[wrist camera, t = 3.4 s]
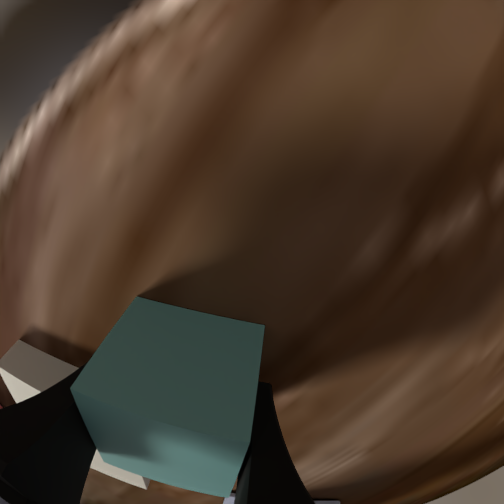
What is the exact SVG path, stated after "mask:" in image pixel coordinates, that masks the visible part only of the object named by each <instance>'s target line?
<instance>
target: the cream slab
mask: <svg viewBox="0 0 504 504" xmlns="http://www.w3.org/2000/svg"><path fill="white" fill-rule="evenodd" d="M77 369H79V368H78V367H75V366H73V365H71V364H69V363H66V362H64V361H62V360H60V359H57V358H55V357H53V356H51V355H49V354H47V353H45V352H43V351H40V350H38V349H36V348H34V347H32V346H30V345H29V344H27V343H25V342H23V341H21V340H18V341H17V342H16V343H15V344H14V345H13V346H12V347H11V348H10V350H9V351H8V352H7V353H6V354H5V355H4V356H3V357H2V358H1V359H0V374H1V376H2V378H3V380H4V382H5V384H6V386H7V388H8V389H9V391H10V393H11V395H12V397H13V398H14V400H15V402H16V403H19V402H21V401H24V400H26V399H28V398H31V397H33V396H35V395H37V394H39V393H41V392H43V391H44V390H46V389H48V388H50V387H51V386H53V385H55V384H56V383H58V382H59V381H61V380H63V379H64V378H66V377H67V376H69V375H70V374H72V373H73V372H74V371H76V370H77ZM90 467H91V468H93V469H95V470H97V471H100V472H102V473H104V474H107V475H109V476H111V477H114V478H116V479H119V480H122V481H124V482H127V483H130V484H132V485H135V486H138V487H141V488H144V489H147V487H148V484H149V481H150V479H149V478H146V477H143V476H140V475H137V474H134V473H131V472H128V471H126V470H123V469H120V468H118V467H115V466H113V465H110V464H108V463H105V462H104V461H103V459H102V457H101V456H100V454H99V452H98V450H96V452H95V455H94V457H93V460H92V463H91V466H90Z"/></svg>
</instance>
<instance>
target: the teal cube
mask: <svg viewBox="0 0 504 504" xmlns="http://www.w3.org/2000/svg"><path fill="white" fill-rule="evenodd" d="M264 329H265V325H261V324H256V323H250V322H245V321H240V320H235V319H231V318H226V317H221V316H216V315H212V314H207V313H203V312H198V311H194V310H190V309H185V308H181V307H177V306H173V305H169V304H164V303H160V302H156V301H152V300H149V299H145V298H141V297H136V298H135V299H134V300H133V302H132V303H131V304H130V306H129V307H128V308H127V310H126V311H125V312H124V314H123V315H122V316H121V318H120V319H119V320H118V322H117V323H116V324H115V326H114V327H113V328H112V330H111V331H110V332H109V334H108V335H107V336H106V338H105V339H104V341H103V342H102V343H101V345H100V346H99V347H98V349H97V350H96V352H95V353H94V354H93V356H92V357H91V359H90V360H89V362H88V363H87V364H86V366H85V367H84V369H83V370H82V372H81V373H80V374H79V376H78V377H77V379H76V380H75V382H74V383H73V385H72V386H71V388H70V389H71V392H72V395H73V397H74V400H75V402H76V404H77V407H78V409H79V412H80V414H81V416H82V418H83V421H84V423H85V425H86V427H87V429H88V432H89V434H90V436H91V438H92V440H93V442H94V444H95V446H96V448H97V450H98V452H99V454H100V456H101V457H102V459H103V461H104V462H105V463H108V464H110V465H113V466H115V467H118V468H120V469H123V470H126V471H128V472H131V473H134V474H137V475H140V476H143V477H146V478H149V479H152V480H155V481H159V482H162V483H165V484H169V485H172V486H176V487H180V488H184V489H188V490H192V491H196V492H201V493H205V494H210V495H215V496H220V497H226V498H229V496H230V493H231V491H232V488H233V486H234V483H235V481H236V478H237V475H238V473H239V470H240V468H241V465H242V462H243V460H244V457H245V454H246V452H247V449H248V446H249V444H250V439H251V431H252V424H253V417H254V409H255V401H256V394H257V386H258V378H259V370H260V362H261V354H262V345H263V337H264Z"/></svg>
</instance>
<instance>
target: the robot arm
mask: <svg viewBox="0 0 504 504" xmlns="http://www.w3.org/2000/svg"><path fill="white" fill-rule="evenodd" d="M88 362H89V361H88ZM88 362H87V363H88ZM87 363H86V364H87ZM86 364H84V365H83V366H81V367H80V368H79V369H77V370H76V371H74V372H73V373H72V374H70V375H69V376H67V377H66V378H64V379H63V380H61V381H59V382H58V383H56V384H55V385H53V386H51V387H50V388H48V389H46V390H44V391H43V392H41V393H39V394H37V395H35V396H33V397H31V398H28V399H26V400H24V401H21V402H19V403H16V404H14V405H11V406H8V407H5V408H2V409H0V504H80V499H81V495H82V492H83V488H84V484H85V481H86V478H87V475H88V472H89V469H90V466H91V463H92V460H93V457H94V455H95V452H96V450H97V448H96V446H95V444H94V442H93V440H92V438H91V436H90V434H89V432H88V429H87V427H86V425H85V423H84V421H83V418H82V416H81V414H80V412H79V409H78V407H77V404H76V402H75V400H74V397H73V395H72V392H71V389H70V388H71V386H72V385H73V383H74V382H75V380H76V379H77V377H78V376H79V374H80V373H81V372H82V370H83V369H84V367H85V366H86ZM223 504H340V501H313V499H312V498H311V496H310V494H309V493H308V491H307V490H306V488H305V486H304V484H303V482H302V481H301V479H300V477H299V475H298V473H297V471H296V469H295V466H294V464H293V462H292V460H291V457H290V455H289V452H288V450H287V447H286V444H285V441H284V439H283V436H282V432H281V429H280V426H279V422H278V419H277V415H276V410H275V406H274V401H273V394H272V386H271V384H270V383H264V382H259V381H258V386H257V394H256V401H255V409H254V417H253V424H252V431H251V439H250V444H249V446H248V449H247V452H246V454H245V457H244V460H243V462H242V465H241V468H240V470H239V473H238V480H237V489H236V493H230V496H229V498H226V497H225V499H224V502H223Z"/></svg>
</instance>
